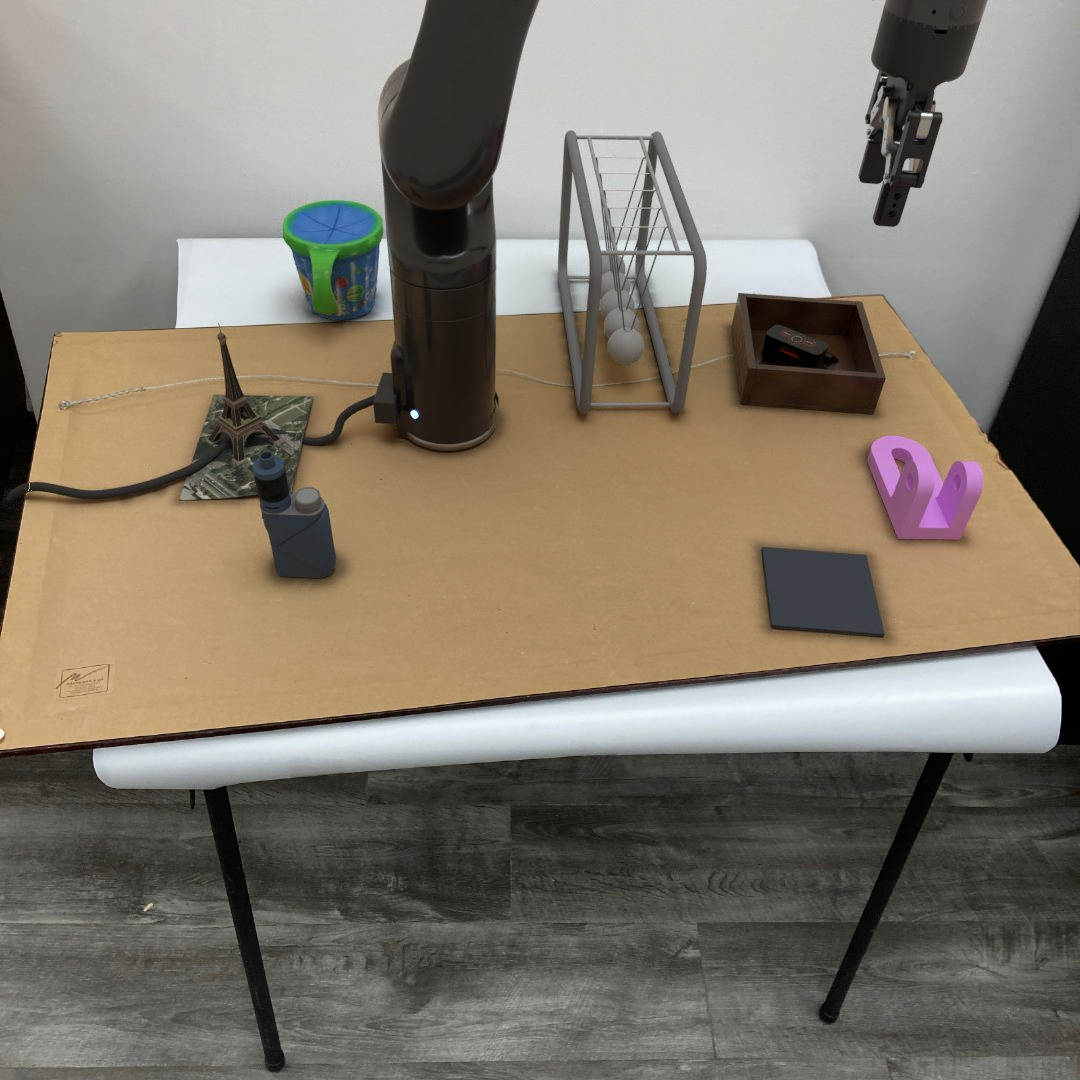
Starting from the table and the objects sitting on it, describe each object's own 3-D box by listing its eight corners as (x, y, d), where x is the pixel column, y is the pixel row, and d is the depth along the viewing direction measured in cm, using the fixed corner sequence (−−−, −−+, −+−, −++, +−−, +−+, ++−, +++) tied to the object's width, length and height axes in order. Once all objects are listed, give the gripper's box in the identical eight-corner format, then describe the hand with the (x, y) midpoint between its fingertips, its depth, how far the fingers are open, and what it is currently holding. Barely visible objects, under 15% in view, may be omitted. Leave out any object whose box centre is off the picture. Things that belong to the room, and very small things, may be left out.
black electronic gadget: (818, 385, 102) (825, 359, 100) (758, 359, 105) (764, 333, 103) (837, 366, 105) (845, 340, 103) (778, 341, 108) (784, 316, 106)
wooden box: (740, 404, 100) (748, 367, 97) (731, 327, 111) (738, 292, 108) (873, 414, 100) (886, 377, 97) (851, 336, 110) (862, 301, 107)
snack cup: (369, 348, 105) (360, 262, 98) (274, 337, 106) (258, 250, 99) (404, 276, 116) (399, 194, 109) (318, 267, 117) (307, 184, 110)
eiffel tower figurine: (294, 499, 87) (271, 375, 78) (179, 500, 87) (141, 375, 78) (313, 399, 98) (295, 279, 89) (211, 399, 98) (181, 279, 88)
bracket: (959, 539, 87) (987, 480, 82) (898, 538, 87) (922, 479, 82) (916, 447, 96) (939, 389, 91) (861, 446, 96) (881, 388, 91)
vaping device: (277, 555, 82) (253, 443, 74) (339, 558, 82) (322, 447, 74) (270, 577, 81) (245, 465, 72) (334, 580, 81) (316, 469, 72)
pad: (771, 628, 79) (772, 624, 78) (761, 549, 85) (762, 546, 85) (883, 637, 78) (884, 633, 78) (865, 557, 85) (866, 554, 85)
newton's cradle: (556, 271, 118) (564, 123, 106) (642, 271, 119) (660, 124, 107) (578, 423, 97) (591, 260, 85) (682, 423, 98) (710, 260, 85)
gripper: (871, -23, 82) (825, 166, 94) (902, 32, 72) (846, 236, 83) (961, -17, 82) (904, 172, 93) (1005, 39, 72) (934, 243, 83)
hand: (876, 202), depth 88 cm, fingers open, 8 cm apart
